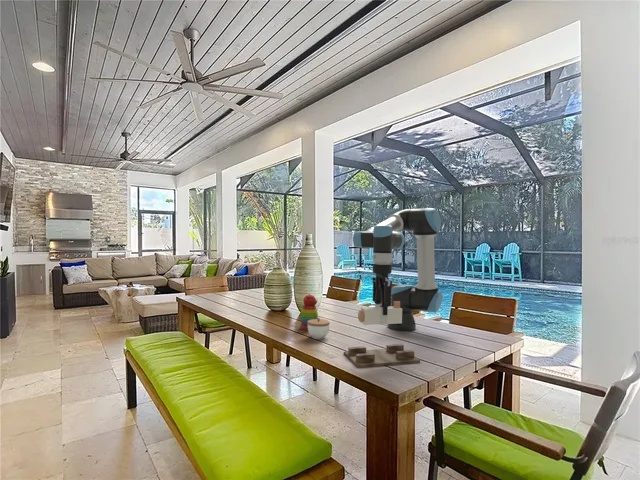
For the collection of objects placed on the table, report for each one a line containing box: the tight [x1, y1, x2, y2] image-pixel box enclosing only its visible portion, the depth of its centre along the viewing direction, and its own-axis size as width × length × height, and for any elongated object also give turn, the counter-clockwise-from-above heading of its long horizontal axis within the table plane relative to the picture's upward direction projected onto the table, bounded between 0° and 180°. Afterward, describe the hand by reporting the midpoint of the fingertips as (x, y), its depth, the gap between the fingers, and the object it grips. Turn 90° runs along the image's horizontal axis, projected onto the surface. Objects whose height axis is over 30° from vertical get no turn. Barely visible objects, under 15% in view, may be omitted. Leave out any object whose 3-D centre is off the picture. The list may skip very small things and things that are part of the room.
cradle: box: [343, 343, 421, 369], centre depth 141 cm, size 26×16×4 cm, turn 105°
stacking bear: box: [299, 293, 319, 331], centre depth 186 cm, size 11×10×18 cm
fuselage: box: [357, 301, 402, 326], centre depth 141 cm, size 17×4×8 cm, turn 105°
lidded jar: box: [307, 317, 331, 340], centre depth 169 cm, size 11×11×9 cm
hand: (381, 321), depth 141 cm, fingers closed on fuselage, 4 cm apart
